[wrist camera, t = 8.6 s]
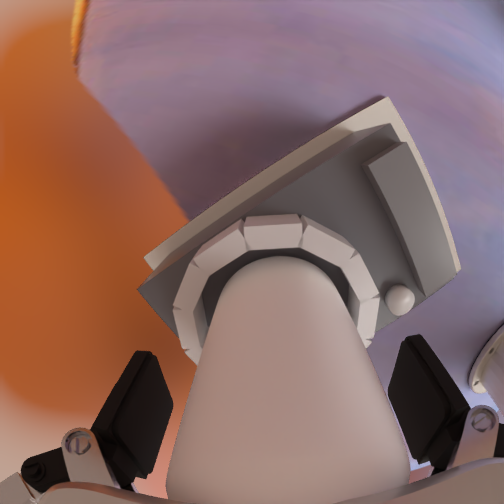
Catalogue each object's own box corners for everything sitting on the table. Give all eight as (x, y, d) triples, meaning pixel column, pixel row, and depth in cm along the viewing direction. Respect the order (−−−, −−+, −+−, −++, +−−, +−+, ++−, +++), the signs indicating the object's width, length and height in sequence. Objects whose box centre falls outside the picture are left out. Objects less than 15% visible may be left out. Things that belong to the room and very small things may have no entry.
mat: (385, 97, 16) (387, 96, 16) (458, 267, 20) (461, 268, 20) (145, 255, 21) (143, 257, 21) (258, 385, 25) (258, 388, 25)
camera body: (354, 131, 17) (409, 118, 9) (412, 247, 19) (471, 292, 12) (168, 254, 20) (121, 306, 13) (245, 347, 23) (237, 420, 15)
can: (241, 365, 16) (218, 558, 5) (200, 272, 14) (90, 503, 3) (346, 339, 15) (407, 533, 4) (324, 236, 13) (462, 474, 2)
